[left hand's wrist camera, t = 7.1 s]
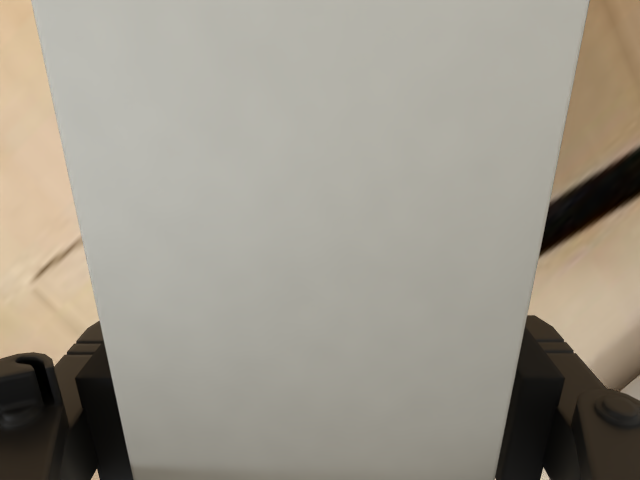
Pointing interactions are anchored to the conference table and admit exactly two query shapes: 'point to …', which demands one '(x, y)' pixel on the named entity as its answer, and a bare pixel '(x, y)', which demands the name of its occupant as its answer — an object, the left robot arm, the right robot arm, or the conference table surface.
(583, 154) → the conference table surface
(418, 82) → the bar
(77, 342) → the left robot arm
